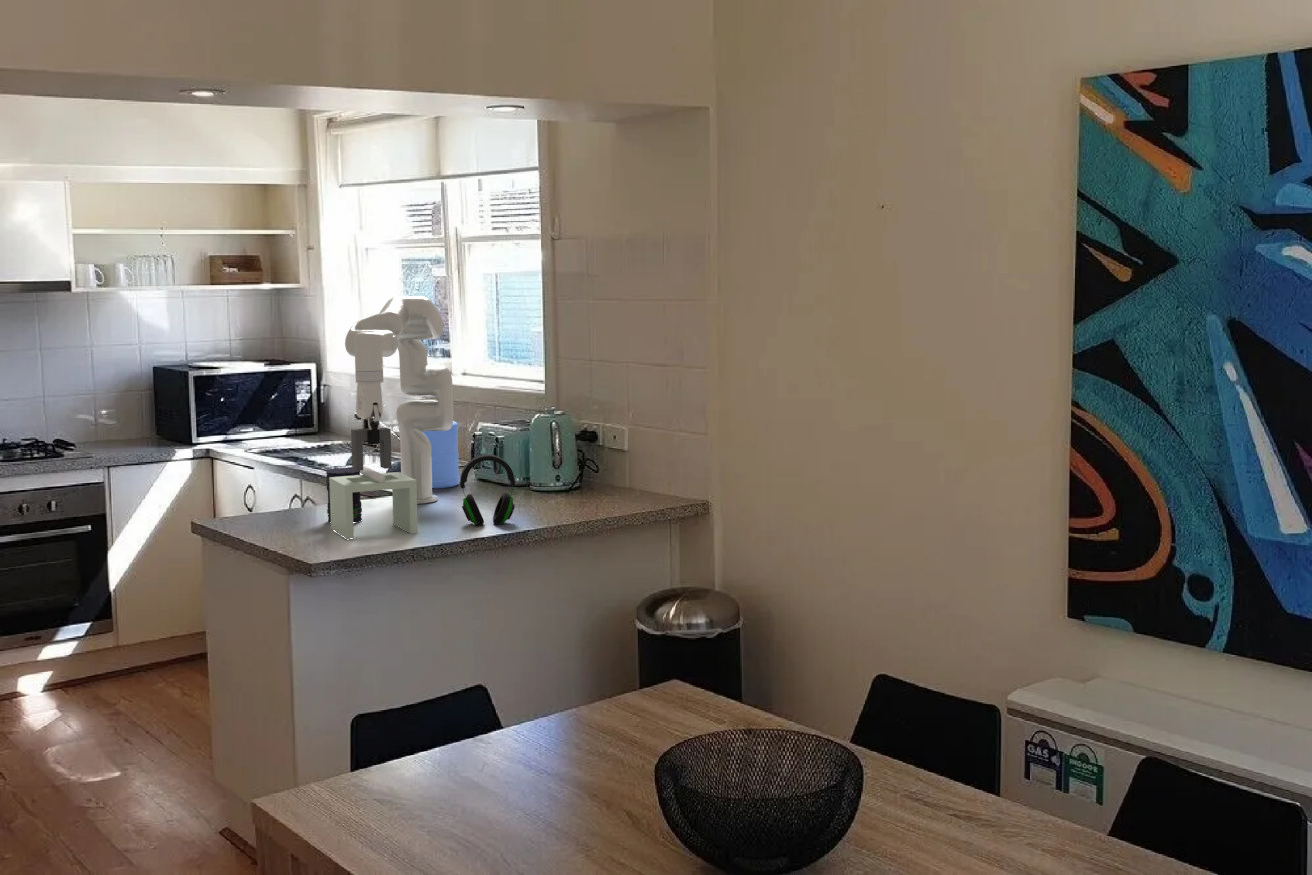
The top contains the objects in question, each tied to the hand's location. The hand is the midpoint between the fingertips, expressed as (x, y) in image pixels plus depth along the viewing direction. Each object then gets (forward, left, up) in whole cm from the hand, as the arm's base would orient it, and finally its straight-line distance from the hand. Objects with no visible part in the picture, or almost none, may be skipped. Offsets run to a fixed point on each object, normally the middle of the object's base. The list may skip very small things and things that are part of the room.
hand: (371, 442), depth 388 cm
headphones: (+5, +32, -25) cm, 41 cm away
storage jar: (-19, -3, -25) cm, 32 cm away
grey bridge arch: (0, 0, -7) cm, 7 cm away
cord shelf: (0, 0, -25) cm, 25 cm away
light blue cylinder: (-67, +41, -25) cm, 83 cm away
